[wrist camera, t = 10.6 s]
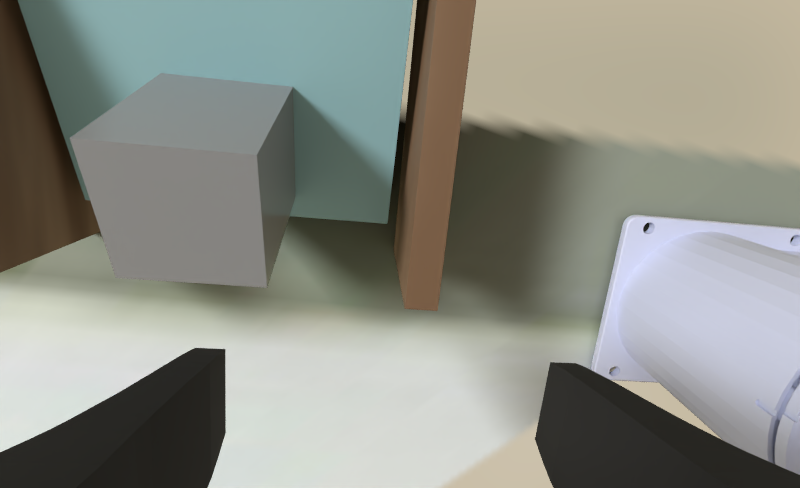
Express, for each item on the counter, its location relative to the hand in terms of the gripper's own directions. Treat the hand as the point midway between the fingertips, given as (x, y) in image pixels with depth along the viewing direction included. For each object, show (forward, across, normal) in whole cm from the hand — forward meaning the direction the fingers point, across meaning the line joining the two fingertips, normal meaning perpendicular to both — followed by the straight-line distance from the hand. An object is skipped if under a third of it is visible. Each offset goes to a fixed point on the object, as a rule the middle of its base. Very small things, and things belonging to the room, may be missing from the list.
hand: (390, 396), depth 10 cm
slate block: (+7, +5, -5) cm, 10 cm away
